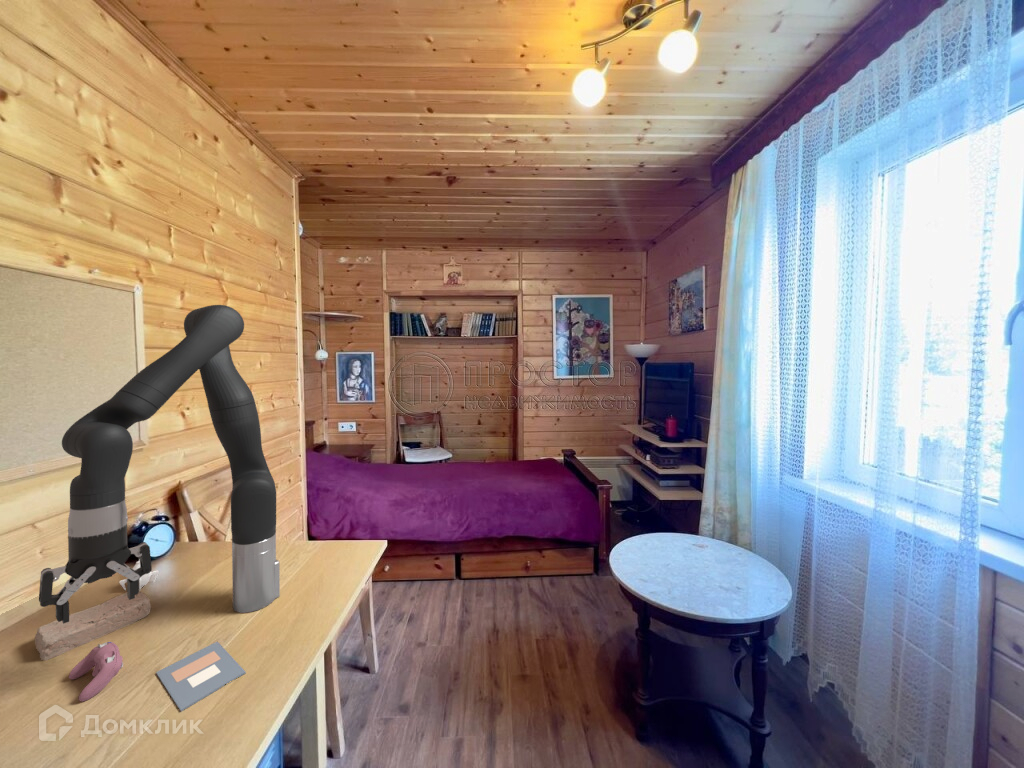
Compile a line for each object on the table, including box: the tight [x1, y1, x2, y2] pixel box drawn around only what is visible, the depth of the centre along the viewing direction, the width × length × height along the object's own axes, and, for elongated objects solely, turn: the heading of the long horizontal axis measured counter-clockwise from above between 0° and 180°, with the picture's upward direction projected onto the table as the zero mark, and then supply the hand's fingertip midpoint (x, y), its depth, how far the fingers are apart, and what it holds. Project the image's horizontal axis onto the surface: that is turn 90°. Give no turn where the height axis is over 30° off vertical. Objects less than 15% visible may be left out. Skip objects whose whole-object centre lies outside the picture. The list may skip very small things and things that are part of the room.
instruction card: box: [155, 641, 246, 712], centre depth 74 cm, size 10×14×1 cm
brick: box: [34, 590, 152, 661], centre depth 84 cm, size 17×8×5 cm, turn 151°
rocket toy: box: [118, 558, 160, 591], centre depth 100 cm, size 5×5×8 cm
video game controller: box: [68, 641, 124, 702], centre depth 72 cm, size 10×5×7 cm, turn 58°
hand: (99, 608), depth 72 cm, fingers open, 8 cm apart
